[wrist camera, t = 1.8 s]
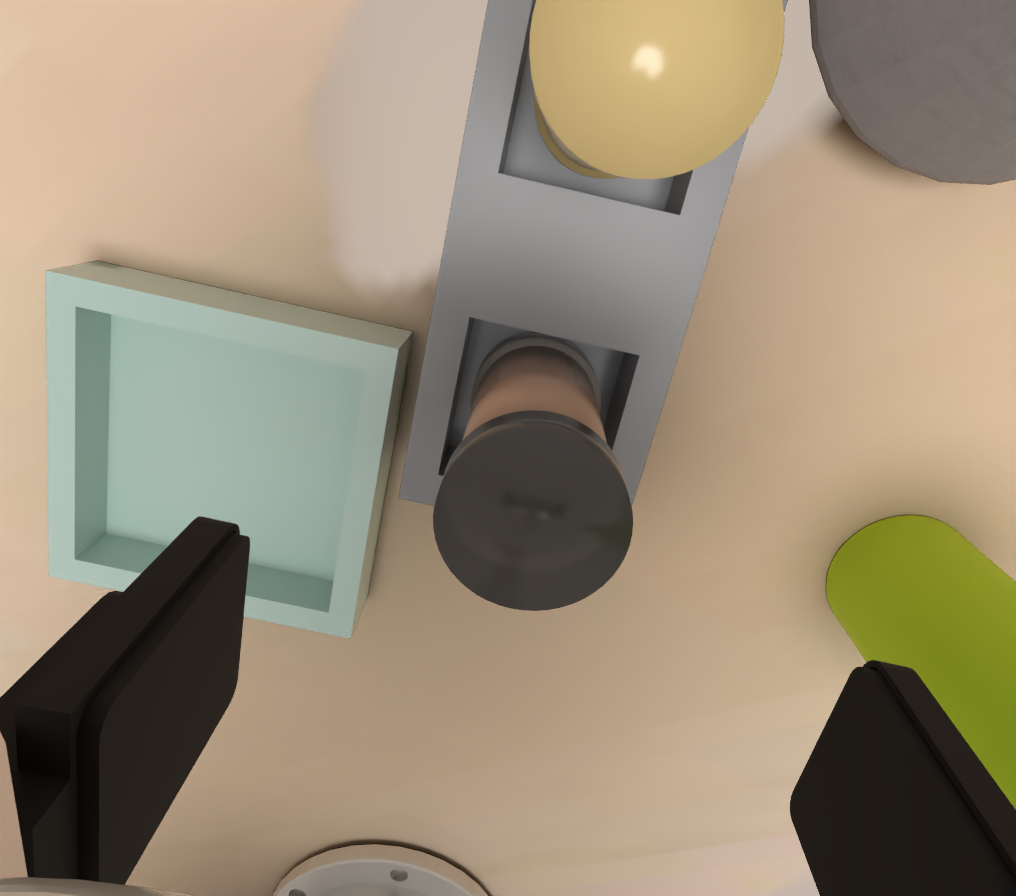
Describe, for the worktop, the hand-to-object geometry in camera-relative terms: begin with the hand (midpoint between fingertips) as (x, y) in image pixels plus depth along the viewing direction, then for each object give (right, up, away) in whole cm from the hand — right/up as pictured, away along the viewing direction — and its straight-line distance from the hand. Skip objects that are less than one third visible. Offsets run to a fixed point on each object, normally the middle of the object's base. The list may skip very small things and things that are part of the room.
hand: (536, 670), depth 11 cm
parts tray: (-11, +4, +18) cm, 22 cm away
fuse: (+3, +15, +13) cm, 19 cm away
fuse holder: (+2, +10, +15) cm, 18 cm away
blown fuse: (+1, +5, +16) cm, 17 cm away
